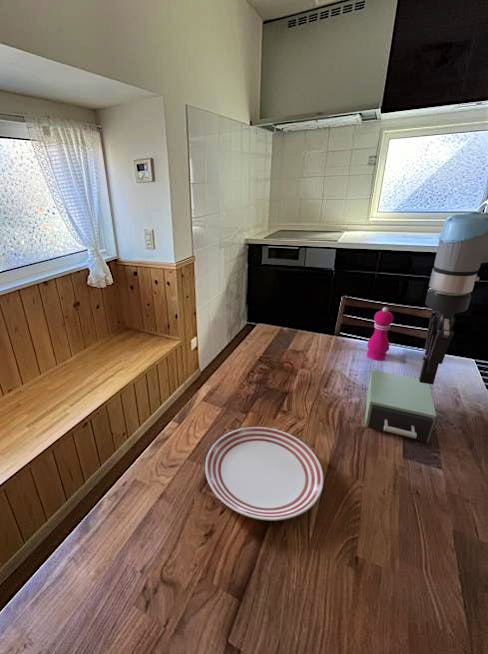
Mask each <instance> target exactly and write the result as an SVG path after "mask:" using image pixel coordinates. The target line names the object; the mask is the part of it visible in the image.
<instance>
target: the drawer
mask: <svg viewBox="0 0 488 654" xmlns="http://www.w3.org/2000/svg"><path fill="white" fill-rule="evenodd" d="M432 424H433V418H428V417H426V416H421V415H417V414H416V415H415V414H410V413H406V412H402V411H397V410H393V409H388V408H384V407H379V406H376V405H372V408H371V412H370V417H369V422H368V427H367V428H369V429H373V430H377V431H381V432H384V433H389V434H392V435H396V436H400V437H403V438H404V437H405V438H408V439H413V440H417V441H421V442H424V443H428V442H427V440H428V437H429V433H430V430H431V427H432Z"/></svg>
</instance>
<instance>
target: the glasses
mask: <svg viewBox="0 0 488 654" xmlns="http://www.w3.org/2000/svg"><path fill="white" fill-rule="evenodd" d="M261 358H265V359H267V360H268V363H264V362H263V361H262V360H261ZM258 362H259V364H260V365H262V364H264V365H267V366H266V367H269V366H271V364H272V363H276V364H279V365H280V367H281V369H282V370H283V371H284V372H288V373H287V374H286V377H285V378H283V380H282V382H281V386H280V390H279V392H280V393H283V389H284V388H283V387H284V383H285V382H286V381H287V380H288V378H289V376H290V374H291V373H292V372H294V369H295V366H294V364H293V363H292V362H290V361H288V360H283V361H279V360H276V359H271V358H270V357H269V356H267V355H264V354H262V355H259V357H258V358H257V359H256V361H255V363H254V364H253V366H252V367H251V368H250V369H249V370H248V371H247V373H246V377H245V381H246V380H247V379H249V375H250V373H251V372H252V371H253V370H254V369H255V368H256V366H257V364H258ZM283 364H289V365H290V366H291V367H290V369H286V368H285V367H284V365H283ZM264 365H263V366H264ZM247 381H248V380H247Z"/></svg>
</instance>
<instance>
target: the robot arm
mask: <svg viewBox="0 0 488 654" xmlns="http://www.w3.org/2000/svg"><path fill="white" fill-rule="evenodd" d="M437 245H438V246H437V250H436V254H435V258H434V264H433V268H432V270H431V273H430V278H429V283H428V288H429V289H427V293H426V297H425V300H424V301H425V302H424V303H425V306H426V307H428V308H429V309H431V310H430V316H429V323H428V328H427V332H426V333H427V334H426V338H425V345H424V347H423V348H424V350H425V351H424V356H422V361H423V362H422V366H421V370H420V374H419V381H420V382H421V383H426V384H430V385H431V386H432V385H434V383H435V379H436V376H437V372H438V368H439V366H440V365H442V364H443V362H444V359H445V356H446V354H447V351H448V349H449V345H450V343H451V341H452V339H453V337H454V336H455V331H454V330H453V327H455V324H456V317H454V315H456V314H458V313H464V312H466V311H467V310H469V309H468V308H469V306H470V303H471V299H472V293H471V292H473V289H474V286H475V283H476V282H478V281H479V280H480V277H479V276H478V273H479V270H480V268H481V265H482V264H488V211H487V212H478V211H473V212H472V211H470V212H465V213H462V214H460V213H459V214H453V215H450V216H449V217H447V218H446V219H445V221H444V223H443V226H442V228H441V232H440V235H439V237H438V244H437Z"/></svg>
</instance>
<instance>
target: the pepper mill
mask: <svg viewBox="0 0 488 654" xmlns="http://www.w3.org/2000/svg"><path fill="white" fill-rule="evenodd" d="M373 319H374V325H373V327H374V331H373V334H372V336H370V337H369V339H368V341H367V344H366V347H367V352H366V356H367V357H368V358H369V359H370V360H371V359H372V360H373V361H384V360H385V359H386V358H387V352H388V351H389V350H390V342H389V338H388V331H389V330H390V329H391V324H392V323H393V321H394V315H393V313H392V312H390V311H389V308H388V307H385V306H384V307H383V308H382V309H381V310H379V311H376V313H375V314H374V317H373Z"/></svg>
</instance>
